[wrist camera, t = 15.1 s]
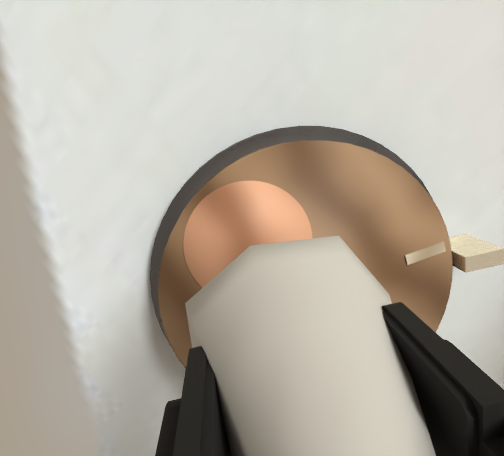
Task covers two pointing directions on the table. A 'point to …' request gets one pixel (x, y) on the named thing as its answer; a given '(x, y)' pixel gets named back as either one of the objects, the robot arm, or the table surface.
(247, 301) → the flask
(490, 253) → the base
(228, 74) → the table surface
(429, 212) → the turntable
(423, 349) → the robot arm
